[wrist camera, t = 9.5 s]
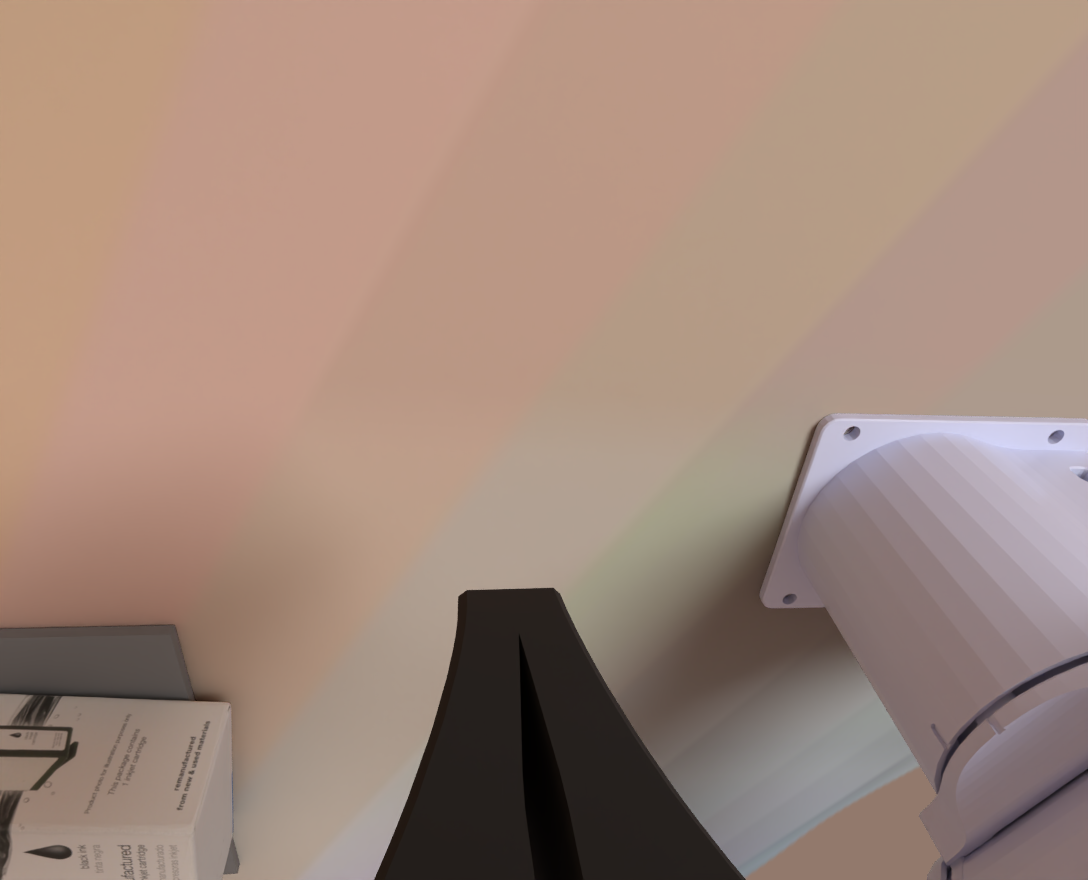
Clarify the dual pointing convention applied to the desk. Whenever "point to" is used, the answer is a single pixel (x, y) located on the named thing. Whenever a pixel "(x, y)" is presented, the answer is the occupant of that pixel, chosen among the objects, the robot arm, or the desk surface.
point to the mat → (98, 667)
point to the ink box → (114, 788)
